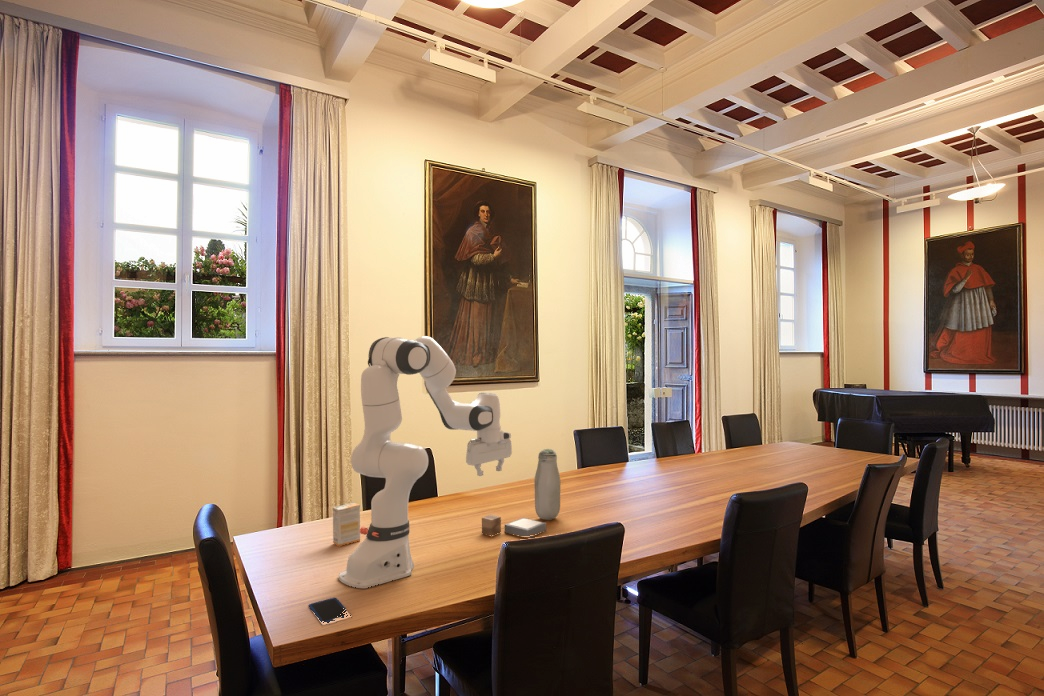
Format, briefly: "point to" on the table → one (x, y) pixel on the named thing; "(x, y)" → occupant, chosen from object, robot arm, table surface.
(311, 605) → the cell phone
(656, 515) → the table surface
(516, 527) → the base block
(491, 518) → the walnut block
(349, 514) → the supplement box
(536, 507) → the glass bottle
